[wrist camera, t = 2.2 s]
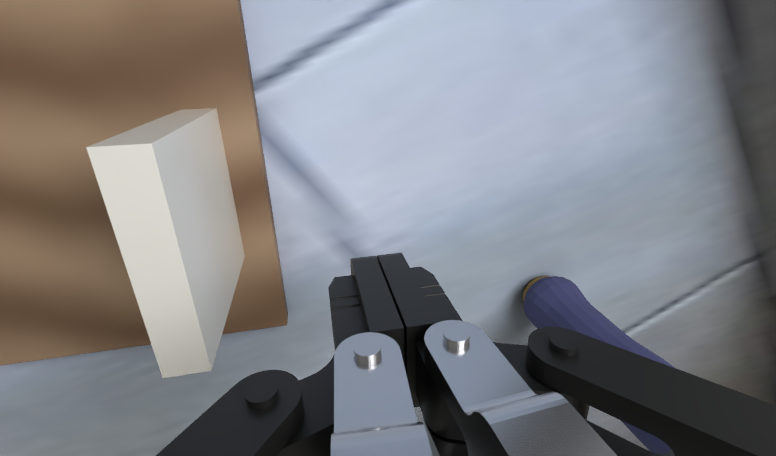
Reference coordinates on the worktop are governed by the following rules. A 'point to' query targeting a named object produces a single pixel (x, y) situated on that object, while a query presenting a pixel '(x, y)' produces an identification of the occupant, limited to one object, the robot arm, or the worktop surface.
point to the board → (76, 174)
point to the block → (175, 231)
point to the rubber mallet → (583, 328)
